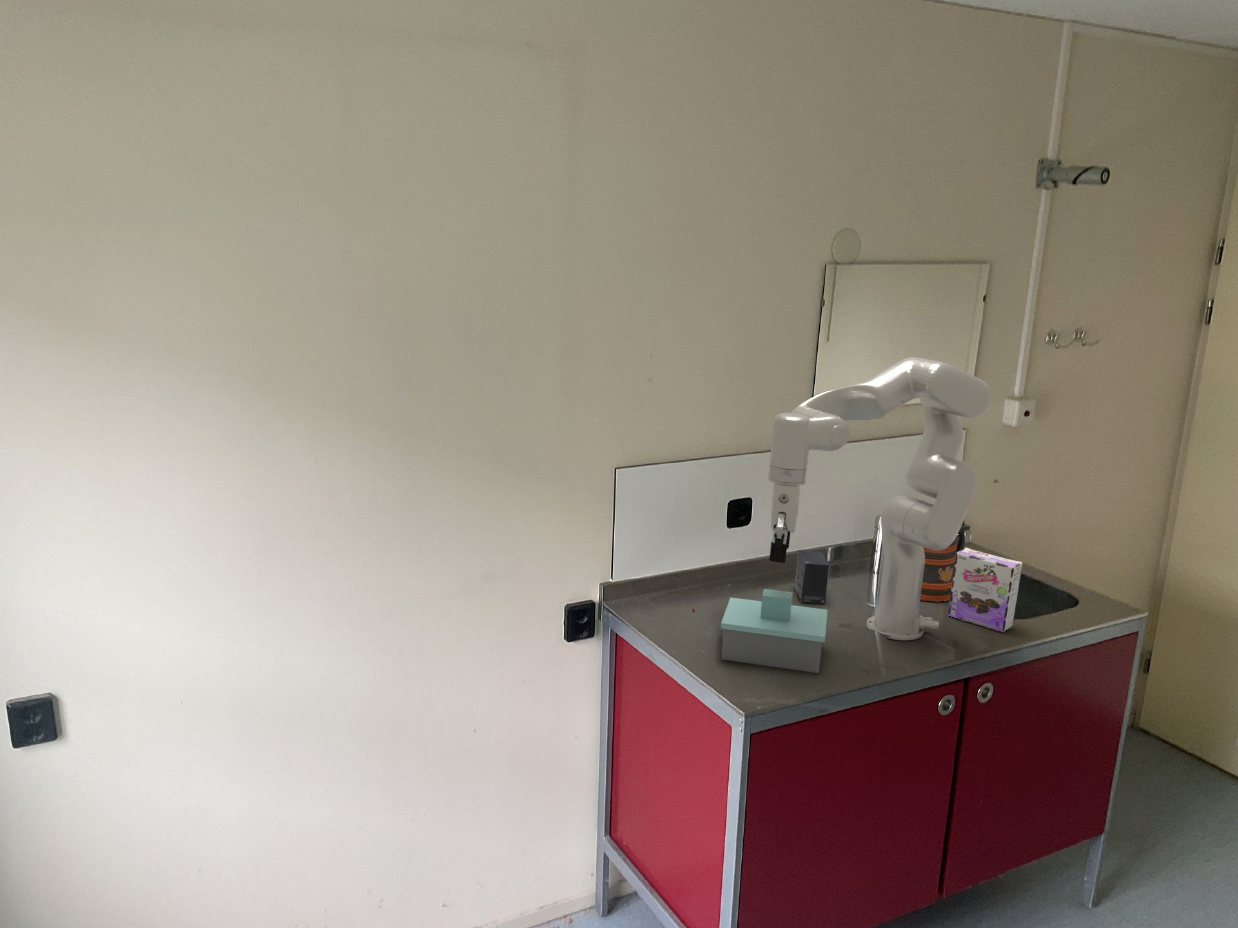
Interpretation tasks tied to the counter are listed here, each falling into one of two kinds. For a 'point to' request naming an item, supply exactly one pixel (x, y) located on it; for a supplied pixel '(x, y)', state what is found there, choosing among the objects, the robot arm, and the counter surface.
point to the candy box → (984, 588)
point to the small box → (811, 577)
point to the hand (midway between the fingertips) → (779, 554)
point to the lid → (775, 617)
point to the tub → (771, 650)
